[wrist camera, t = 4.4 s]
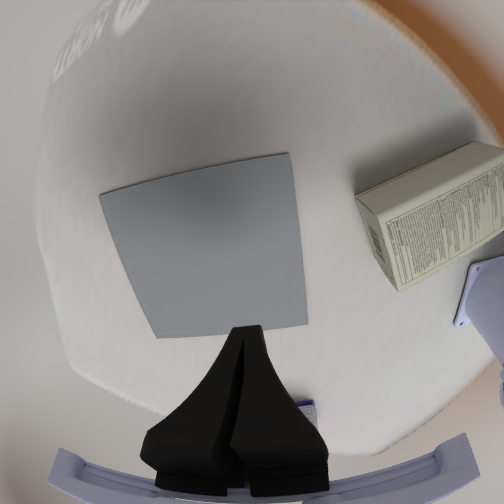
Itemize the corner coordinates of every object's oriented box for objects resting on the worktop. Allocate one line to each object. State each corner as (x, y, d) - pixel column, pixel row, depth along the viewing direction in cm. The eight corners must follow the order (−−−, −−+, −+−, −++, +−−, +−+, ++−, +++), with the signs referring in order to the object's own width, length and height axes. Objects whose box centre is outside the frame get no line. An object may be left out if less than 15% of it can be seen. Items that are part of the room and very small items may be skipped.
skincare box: (375, 264, 20) (483, 207, 18) (398, 296, 16) (514, 226, 14) (351, 192, 18) (472, 139, 15) (377, 213, 14) (509, 149, 11)
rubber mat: (288, 153, 17) (289, 153, 17) (307, 322, 23) (308, 324, 23) (99, 195, 18) (98, 196, 18) (157, 337, 24) (156, 338, 24)
